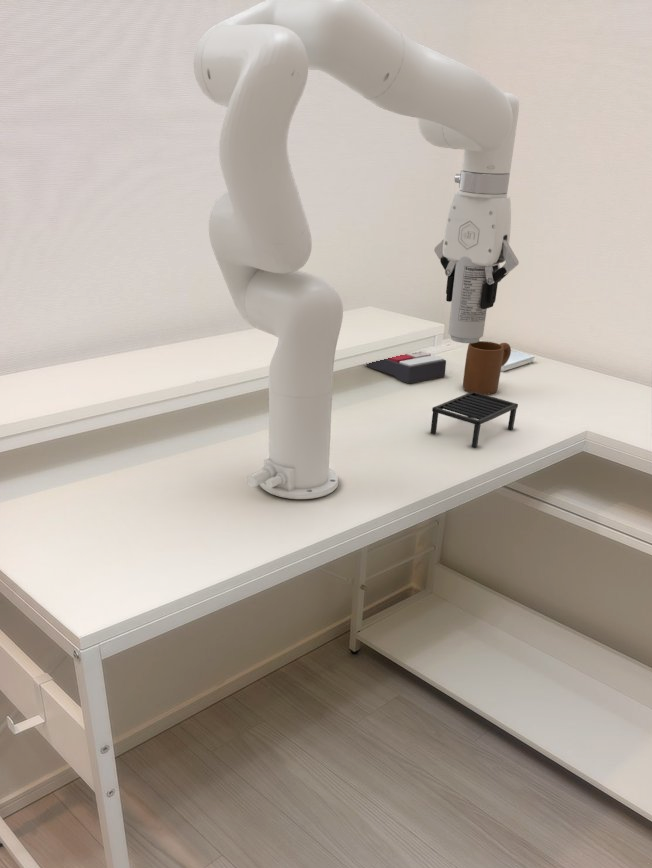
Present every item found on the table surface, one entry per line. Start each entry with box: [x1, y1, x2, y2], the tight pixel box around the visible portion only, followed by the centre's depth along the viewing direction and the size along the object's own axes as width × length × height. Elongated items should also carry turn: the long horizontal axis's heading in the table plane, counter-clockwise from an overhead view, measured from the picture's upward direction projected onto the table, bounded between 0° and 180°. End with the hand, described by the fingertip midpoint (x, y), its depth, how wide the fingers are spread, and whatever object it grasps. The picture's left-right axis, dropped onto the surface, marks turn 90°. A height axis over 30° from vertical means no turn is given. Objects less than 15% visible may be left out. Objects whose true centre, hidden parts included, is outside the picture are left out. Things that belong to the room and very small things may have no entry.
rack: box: [430, 391, 519, 449], centre depth 150 cm, size 14×10×5 cm
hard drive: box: [501, 349, 535, 372], centre depth 191 cm, size 2×8×12 cm
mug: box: [462, 340, 512, 395], centre depth 172 cm, size 12×8×9 cm, turn 130°
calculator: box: [366, 350, 447, 384], centre depth 181 cm, size 11×4×15 cm
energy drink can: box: [447, 257, 488, 344], centre depth 135 cm, size 6×6×15 cm
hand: (469, 302), depth 135 cm, fingers closed on energy drink can, 6 cm apart
